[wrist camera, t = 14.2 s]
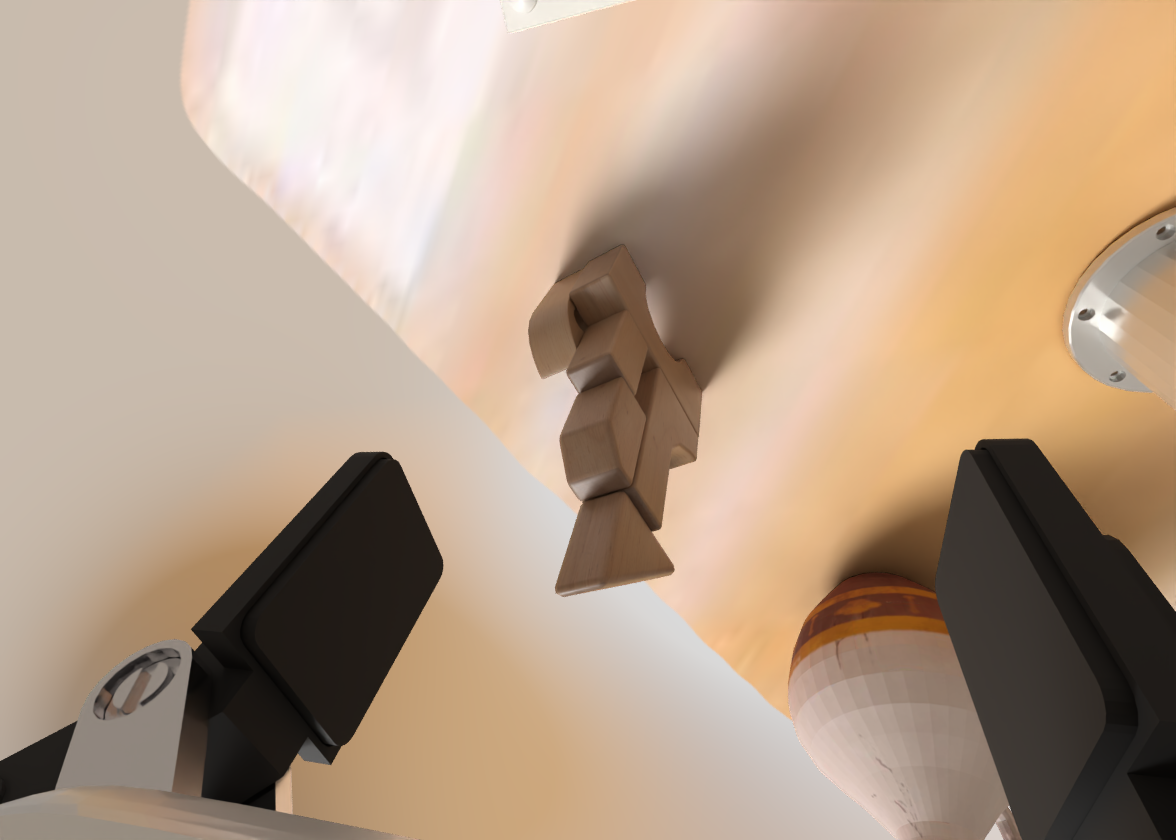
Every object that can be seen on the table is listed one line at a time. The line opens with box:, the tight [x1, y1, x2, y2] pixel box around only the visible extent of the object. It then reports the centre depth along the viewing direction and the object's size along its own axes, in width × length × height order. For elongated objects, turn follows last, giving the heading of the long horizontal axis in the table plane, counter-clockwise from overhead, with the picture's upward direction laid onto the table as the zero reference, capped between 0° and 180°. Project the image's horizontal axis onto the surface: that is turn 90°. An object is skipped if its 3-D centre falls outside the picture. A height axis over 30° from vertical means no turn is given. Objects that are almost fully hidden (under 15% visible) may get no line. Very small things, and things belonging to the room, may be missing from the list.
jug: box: [788, 572, 1022, 840], centre depth 43 cm, size 20×18×30 cm
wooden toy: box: [528, 245, 702, 597], centre depth 35 cm, size 15×7×25 cm, turn 31°
